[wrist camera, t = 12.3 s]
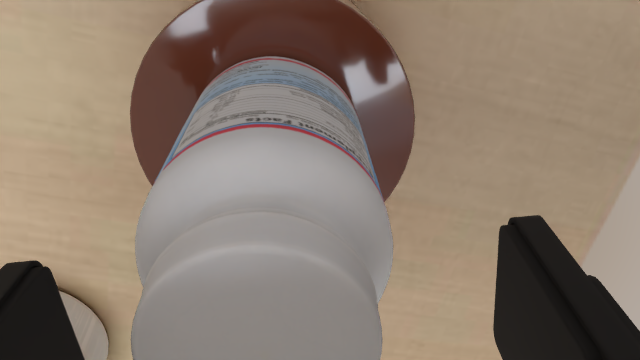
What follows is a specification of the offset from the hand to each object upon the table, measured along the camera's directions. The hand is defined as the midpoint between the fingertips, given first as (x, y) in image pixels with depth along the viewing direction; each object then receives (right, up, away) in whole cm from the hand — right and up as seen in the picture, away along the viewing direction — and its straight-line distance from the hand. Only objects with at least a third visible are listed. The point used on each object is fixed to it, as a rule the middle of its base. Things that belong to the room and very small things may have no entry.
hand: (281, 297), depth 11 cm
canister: (-1, +7, +15) cm, 17 cm away
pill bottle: (-1, +4, +9) cm, 10 cm away
